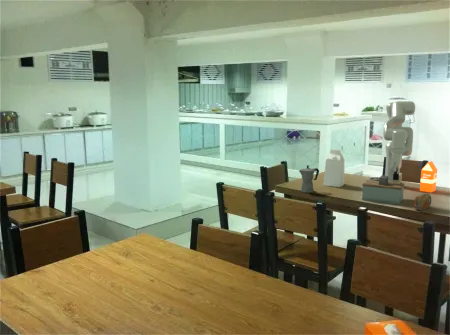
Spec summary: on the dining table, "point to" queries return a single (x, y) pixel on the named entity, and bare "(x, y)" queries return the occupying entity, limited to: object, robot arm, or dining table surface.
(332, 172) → the milk
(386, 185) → the lid
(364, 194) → the toolbox
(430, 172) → the orange juice
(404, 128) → the robot arm
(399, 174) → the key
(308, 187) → the coffeepot
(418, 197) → the tin
